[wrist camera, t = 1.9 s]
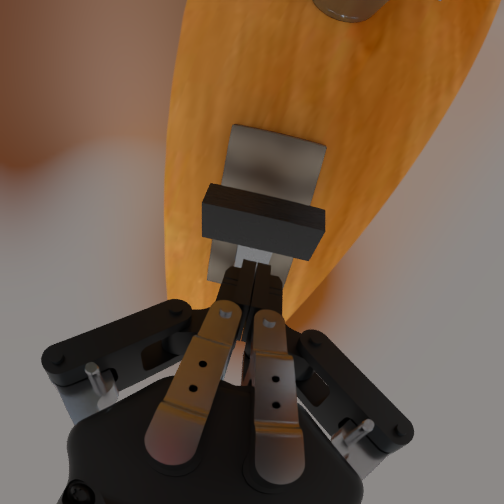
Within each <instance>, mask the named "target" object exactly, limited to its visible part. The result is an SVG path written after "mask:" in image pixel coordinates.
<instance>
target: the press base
mask: <svg viewBox="0 0 504 504" xmlns="http://www.w3.org/2000/svg"><path fill="white" fill-rule="evenodd" d="M326 148H327V147H326V146H325V145H322V144H319V143H315V142H311V141H308V140H304V139H300V138H296V137H293V136H288V135H284V134H280V133H276V132H272V131H267V130H262V129H258V128H253V127H248V126H243V125H237V124H234V125H232V130H231V135H230V140H229V145H228V150H227V156H226V161H225V167H224V172H223V178H222V184H221V185H223V186H227V187H232V188H237V189H241V190H246V191H251V192H255V193H259V194H264V195H268V196H272V197H276V198H281V199H285V200H289V201H293V202H297V203H301V204H305V205H309V206H310V203H311V200H312V197H313V193H314V190H315V187H316V183H317V180H318V176H319V173H320V169H321V166H322V162H323V159H324V155H325V152H326ZM237 248H238V245H237V244H232V243H228V242H223V241H219V240H215V239H213V240H212V246H211V253H210V260H209V268H208V275H207V280H208V281H212V282H216V283H222V280H223V278H224V274H225V271H226V270H227V269H228V268H229V267H231V266H234V262H235V259H236V254H237ZM292 260H293V257H289V256H284V255H280V254H276V253H272V256H271V259H270V261H269V264H268V265H271V275H274V276H279V278H280V279H281V281H282V283H283V287H284V284H285V281H286V278H287V275H288V272H289V269H290V266H291V263H292Z"/></svg>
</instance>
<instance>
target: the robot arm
mask: <svg viewBox="0 0 504 504" xmlns="http://www.w3.org/2000/svg"><path fill="white" fill-rule="evenodd" d="M388 1H389V0H313V2H314V3H315V5H316V6H317V7H318V8H319V9H320V10H321V11H322V12H324V13H325V14H327V15H328V16H330V17H332V18H335V19H337V20H340V21H345V22H361V21H364V20H366V19H368V18H370V17H371V16H372V15H373V14H374V13H375V12H376V11H377V10H379V9H380V8H381V7H382V6H383V5H384V4H385V3H387V2H388ZM256 264H257V267H256ZM255 270H256V271H255ZM282 290H283V283H282V281H281V279H280V278H279V276H274V275H271V265H268V264H264V263H259V262H258V263H257V262H255V261H250V260H246V259H243V263H242V267H241V268H239V267H234V266H231V267H229V268H228V269H227V270H226V271H225V274H224V278H223V280H222V283H221V286H220V289H219V292H218V295H217V298H216V301H215V302H214V303H213V304H212V305H211V307H209V308H207V309H201V310H192V308H191V306H190V305H189V304H188V303H187V302H185V301H183V300H179V299H171V300H167V301H165V302H162V303H160V304H157V305H155V306H152V307H150V308H147V309H144V310H142V311H139V312H137V313H134V314H132V315H129V316H127V317H124V318H122V319H119V320H117V321H114V322H111V323H109V324H106V325H104V326H101V327H98V328H96V329H93V330H91V331H88V332H86V333H83V334H80V335H78V336H75V337H72V338H70V339H67V340H65V341H62V342H59V343H56V344H54V345H51V346H49V347H48V348H47V349H46V350H45V351H44V352H43V354H42V358H41V362H42V365H43V367H44V369H45V371H46V372H47V374H48V375H49V378H50V380H51V382H52V383H53V385H54V386H55V388H56V389H57V391H58V392H59V394H60V396H61V398H62V400H63V402H64V405H65V407H66V409H67V411H68V413H69V415H70V417H71V419H72V421H73V423H74V425H75V426H74V427H73V428H72V430H71V432H70V434H69V437H68V441H67V452H68V458H69V480H68V483H67V486H66V488H65V490H64V492H63V493H62V495H61V497H60V499H59V500H58V502H57V504H361V500H362V498H363V483H362V480H363V479H364V478H365V477H366V476H367V475H368V474H369V473H371V472H372V471H373V470H374V469H375V468H376V467H377V466H378V465H379V464H380V462H382V461H383V460H384V459H385V458H386V457H387V456H389V455H390V454H392V453H394V452H395V451H397V450H398V449H400V448H402V447H403V446H405V445H406V444H408V443H409V442H410V441H411V440H412V438H413V436H414V429H413V425H412V423H411V422H410V421H409V420H408V419H407V418H406V417H405V416H404V415H403V414H402V413H401V412H400V411H399V410H398V409H397V408H396V407H395V406H394V405H393V404H392V403H391V401H389V399H388V398H387V397H386V396H385V395H384V394H383V393H382V392H381V391H380V390H379V389H378V388H377V387H376V386H375V385H374V384H373V383H372V382H371V381H370V380H369V379H368V378H367V377H366V376H365V375H364V374H363V373H362V372H361V371H360V370H359V369H358V368H357V367H356V366H355V365H354V364H353V363H352V362H351V361H350V360H349V359H348V358H347V357H346V356H345V355H344V354H343V353H342V352H341V351H340V350H339V348H337V346H336V345H335V344H334V343H333V342H331V340H330V339H329V338H328V337H327V336H326V335H325V334H323V333H322V332H320V331H317V330H306V331H304V332H303V333H302V334H301V333H299V332H297V331H294V330H292V329H291V328H289V327H288V326H287V325H286V324H285V320H284V318H283V317H282V295H283V291H282ZM243 328H244V329H243ZM242 331H243V334H242ZM241 335H242V340H241V341H244V342H246V345H245V350H244V353H243V360H242V376H241V386H235V385H232V384H230V383H228V382H226V381H223V380H224V376H225V373H226V370H227V367H228V364H229V360H230V357H231V354H232V351H233V349H234V348H235V344H236V341H237V340H239V341H240V339H241ZM181 360H182V361H181ZM179 361H181V363H180V365H179V368H178V370H177V372H176V374H175V376H169V377H165V378H162V379H160V380H157V381H156V382H154V383H152V384H150V385H148V386H147V387H145V388H143V389H141V390H139V391H137V392H136V393H134V394H132V395H130V396H128V397H127V398H124V399H122V400H120V401H118V402H117V403H115V402H116V401H117V399H118V396H119V391H121V390H123V389H125V388H127V387H129V386H132V385H134V384H136V383H138V382H140V381H142V380H144V379H146V378H148V377H150V376H152V375H154V374H156V373H158V372H160V371H162V370H164V369H166V368H168V367H169V366H172V365H174V364H175V363H177V362H179ZM317 374H318V375H319V376H320V377H321V378H322V379H321V378H320V377H319V376H318V375H317ZM325 383H326V384H327V385H328V386H327V385H326V384H325ZM297 397H298V398H299V399H300V401H302V403H303V404H304V405H305V406H306V408H307V409H308V410H309V411H310V412H311V414H312V415H313V416H314V417H315V418H316V420H317V421H318V422H319V423H320V424H321V425H322V427H323V428H324V429H325V430H326V431H327V432H328V433H329V435H330V436H331V441H330V440H329V439H328V438H327V436H326V435H325V434H324V433H323V432H322V430H321V429H320V428H319V426H318V425H317V424H316V423H315V421H314V420H313V419H312V417H311V416H310V415H309V414H308V412H307V411H306V410H305V409H304V408H303V407H302V406H301V405H300V404H299V403H297ZM114 403H115V404H114Z"/></svg>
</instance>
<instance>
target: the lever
mask: <svg viewBox="0 0 504 504" xmlns="http://www.w3.org/2000/svg"><path fill="white" fill-rule="evenodd" d="M324 233H325V210H324V209H320V208H316V207H312V206H309V205H305V204H301V203H297V202H293V201H289V200H285V199H281V198H276V197H272V196H268V195H264V194H259V193H255V192H251V191H246V190H241V189H237V188H232V187H227V186H223V185H218V184H213V183H210V185H209V188H208V190H207V192H206V195H205V197H204V199H203V201H202V237H206V238H210V239H215V240H219V241H223V242H228V243H232V244H237V245H238V248H237V254H236V259H235V262H234V267H239V268H241V267H242V263H243V259H246V260H250V261H255V262H257V263H258V262H259V263H264V264H269V261H270V259H271V256H272V253H276V254H280V255H284V256H289V257H293V258H297V259H302V260H306V261H309V259H310V258H311V256H312V254H313V252H314V251H315V249H316V247H317V245H318V243H319V242H320V240H321V238H322V236H323V234H324ZM256 267H257V264H256ZM255 271H256V270H255Z"/></svg>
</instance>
